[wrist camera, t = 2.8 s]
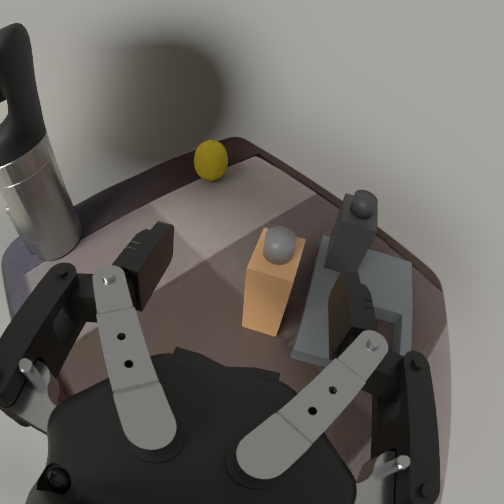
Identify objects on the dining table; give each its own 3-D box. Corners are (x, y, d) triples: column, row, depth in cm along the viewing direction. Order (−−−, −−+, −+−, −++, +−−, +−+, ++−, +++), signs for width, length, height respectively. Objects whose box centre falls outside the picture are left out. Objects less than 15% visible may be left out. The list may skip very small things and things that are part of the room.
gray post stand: (289, 357, 31) (318, 299, 21) (318, 246, 41) (342, 174, 32) (398, 384, 29) (464, 338, 19) (404, 272, 39) (444, 210, 30)
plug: (242, 326, 33) (247, 252, 23) (255, 291, 36) (266, 211, 26) (275, 336, 32) (298, 267, 22) (287, 301, 35) (310, 223, 25)
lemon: (189, 179, 49) (185, 139, 43) (214, 167, 52) (213, 129, 46) (208, 194, 47) (207, 152, 41) (234, 181, 50) (235, 140, 44)
